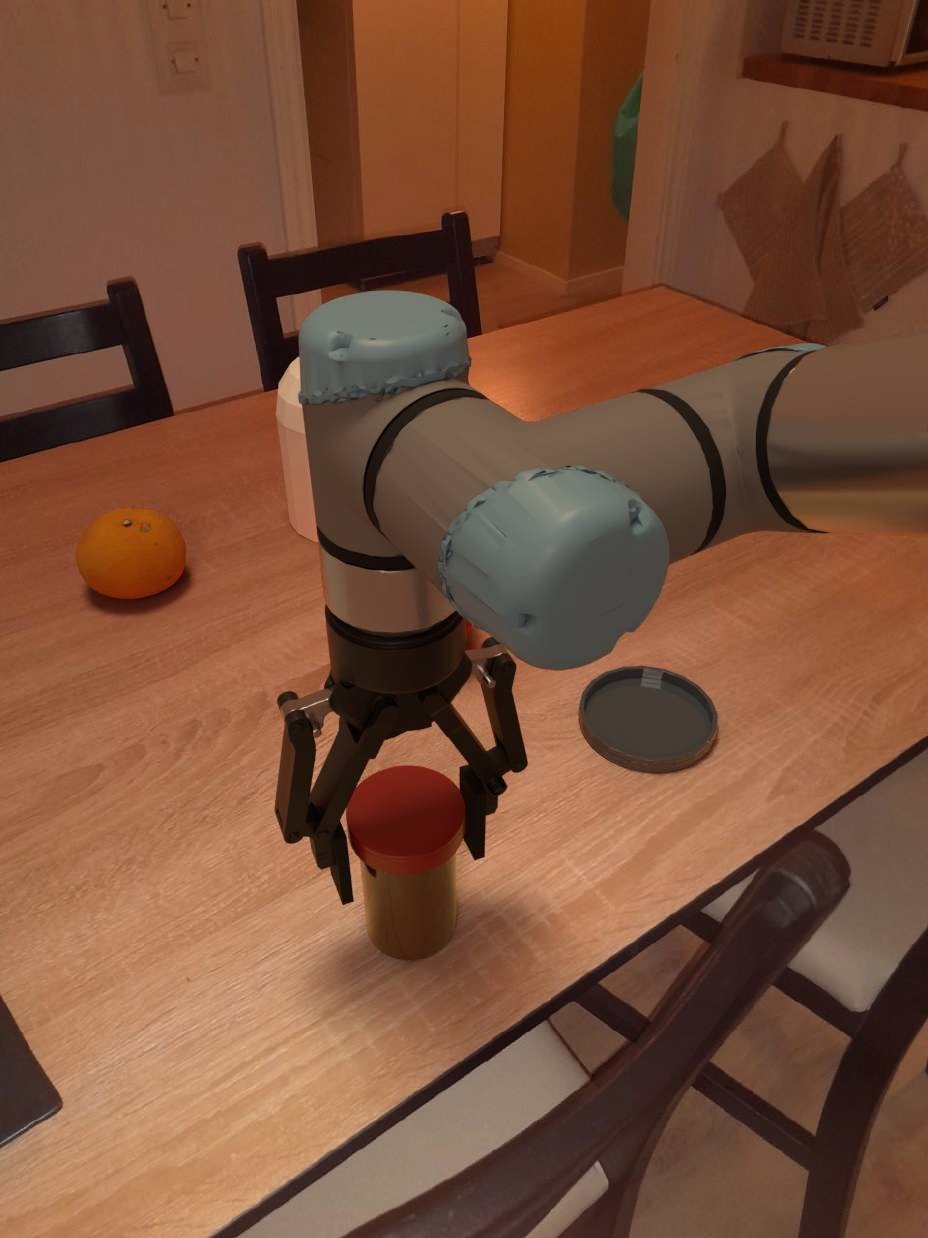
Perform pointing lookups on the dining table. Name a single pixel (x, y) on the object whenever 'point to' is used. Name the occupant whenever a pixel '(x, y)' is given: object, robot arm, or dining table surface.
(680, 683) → the saucer
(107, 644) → the dining table surface
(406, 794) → the lid
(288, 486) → the container
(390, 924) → the jar
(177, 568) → the fruit
